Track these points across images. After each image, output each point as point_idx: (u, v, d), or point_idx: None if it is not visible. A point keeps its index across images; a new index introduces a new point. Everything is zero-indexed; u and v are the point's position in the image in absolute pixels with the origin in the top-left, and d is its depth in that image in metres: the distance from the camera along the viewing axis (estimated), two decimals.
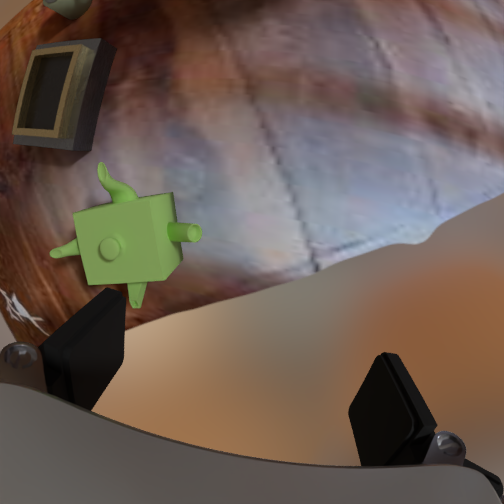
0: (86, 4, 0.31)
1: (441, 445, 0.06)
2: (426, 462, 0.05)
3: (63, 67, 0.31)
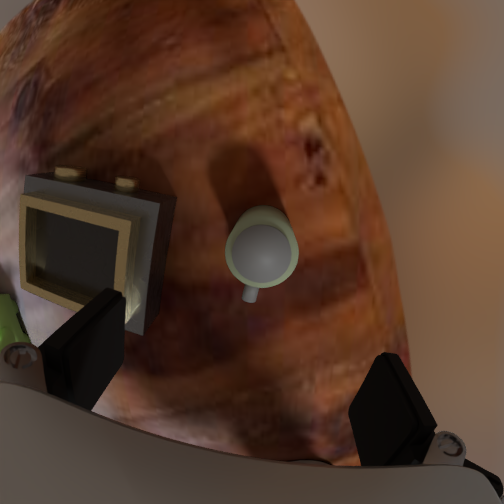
0: None
1: (441, 445, 0.06)
2: (426, 462, 0.05)
3: (105, 277, 0.27)
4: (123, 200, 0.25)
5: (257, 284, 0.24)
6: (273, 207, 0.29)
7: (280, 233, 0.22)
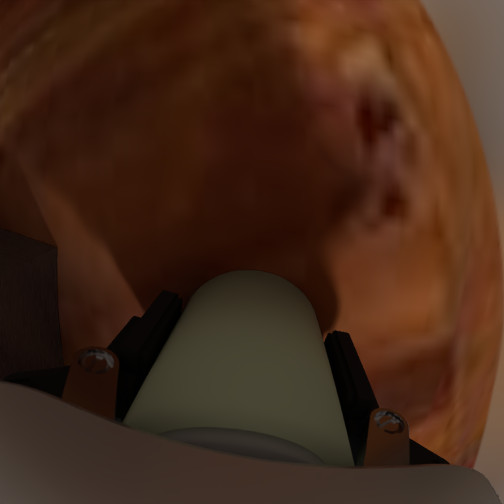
0: None
1: (380, 424, 0.07)
2: (370, 446, 0.06)
3: None
4: None
5: None
6: (274, 278, 0.11)
7: (299, 462, 0.05)
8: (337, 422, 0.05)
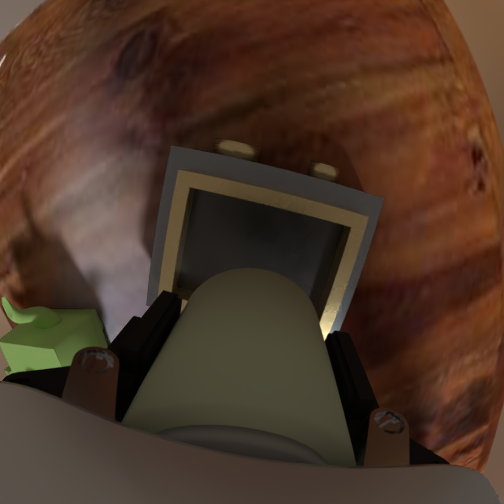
0: None
1: (380, 423, 0.07)
2: (369, 446, 0.06)
3: (301, 284, 0.23)
4: (340, 191, 0.21)
5: None
6: (274, 276, 0.11)
7: (300, 460, 0.05)
8: (338, 420, 0.05)
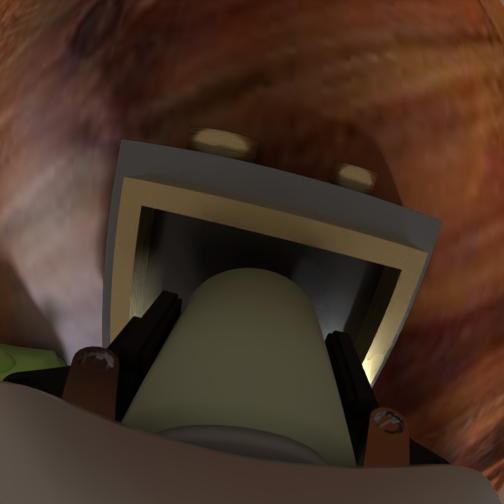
0: None
1: (380, 423, 0.07)
2: (369, 446, 0.06)
3: None
4: (382, 209, 0.13)
5: None
6: (274, 275, 0.11)
7: (300, 460, 0.05)
8: (338, 419, 0.05)
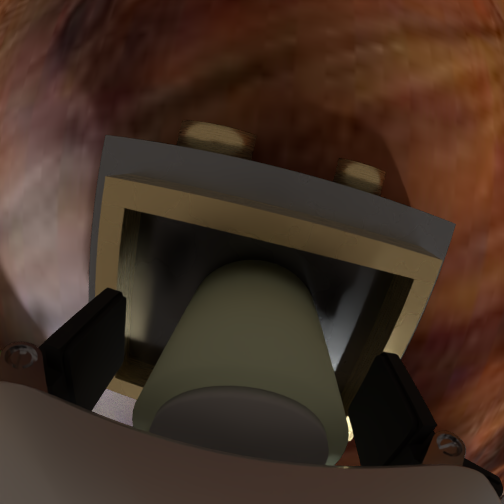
0: None
1: (440, 445, 0.06)
2: (426, 462, 0.05)
3: None
4: (392, 211, 0.12)
5: None
6: (275, 266, 0.12)
7: (299, 417, 0.06)
8: (332, 385, 0.07)
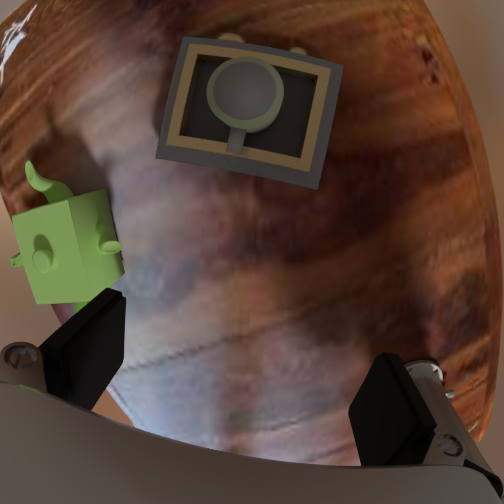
0: None
1: (441, 445, 0.06)
2: (426, 462, 0.05)
3: (284, 127, 0.27)
4: (309, 59, 0.25)
5: (241, 124, 0.21)
6: None
7: (263, 68, 0.19)
8: None
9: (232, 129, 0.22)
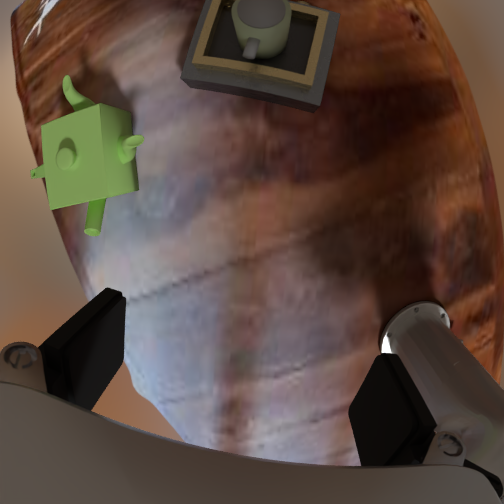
0: None
1: (441, 445, 0.06)
2: (426, 462, 0.05)
3: (291, 55, 0.29)
4: None
5: (257, 31, 0.22)
6: None
7: None
8: None
9: (249, 39, 0.24)
